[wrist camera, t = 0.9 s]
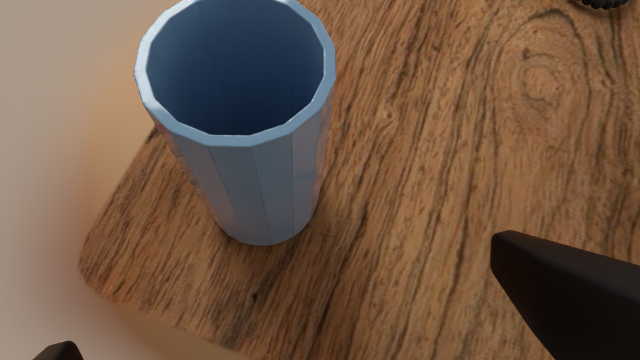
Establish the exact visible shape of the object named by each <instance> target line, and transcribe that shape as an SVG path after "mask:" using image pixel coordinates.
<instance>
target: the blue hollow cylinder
mask: <svg viewBox="0 0 640 360" xmlns="http://www.w3.org/2000/svg"><path fill="white" fill-rule="evenodd" d="M134 77H135V80H136V83H137V86H138V90H139V93H140V96H141V100H142V103H143V105H144V107H145V108H146V110H147V111H148V113H149V115H150V117H151V118H152V120H153V121H154V123H155V125H156V126H157V128H158V130H159V131H160V133H161V135H162V136H163V138H164V139H165V141H166V143H167V144H168V146H169V148H170V149H171V151H172V153H173V154H174V156H175V157H176V159H177V161H178V162H179V164H180V166H181V167H182V169H183V171H184V172H185V174H186V175H187V177H188V179H189V180H190V182H191V184H192V185H193V187H194V188H195V190H196V192H197V193H198V195H199V197H200V198H201V200H202V202H203V203H204V205H205V206H206V208H207V210H208V211H209V213H210V215H211V216H212V218H213V219H214V220H215V222H216V223H217V224H218V225H219V226H220V228H221V229H222V230H223V231H224V232H225V233H226V234H228V235H229V236H230V237H232V238H234V239H236V240H238V241H240V242H242V243H245V244H249V245H255V246H269V245H274V244H278V243H281V242H284V241H286V240H288V239H290V238H292V237H293V236H295V235H296V234H298V233H299V232H300V231H301V230H302V229H303V228H304V227H305V226H306V225H307V224H308V222H309V221H310V219H311V218H312V216H313V214H314V211H315V209H316V205H317V203H318V199H319V192H320V185H321V178H322V171H323V164H324V157H325V150H326V143H327V136H328V129H329V122H330V115H331V108H332V101H333V94H334V87H335V80H336V61H335V46H334V44H333V43H332V41H331V39H330V37H329V35H328V33H327V31H326V29H325V28H324V26H323V24H322V22H321V20H320V19H319V18H318V17H316V16H315V15H314V14H313V13H311V12H310V11H309V10H308V9H306V8H305V7H304V6H303V5H301V4H300V3H299V2H298V1H296V0H182V1H180V2H179V3H178V4H176V5H174V6H172V7H171V8H169V9H168V10H166V11H164V12H163V13H162V14H160V15H159V17H158V18H157V19H156V21H155V22H154V23H153V25H152V26H151V27H150V28H149V30H148V31H147V32H146V34H145V35H144V36H143V38H142V39H141V41H140V44H139V49H138V53H137V58H136V63H135V68H134Z"/></svg>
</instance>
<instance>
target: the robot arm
mask: <svg viewBox="0 0 640 360" xmlns="http://www.w3.org/2000/svg"><path fill="white" fill-rule="evenodd" d="M490 266H491V270H492V272H493V274H494V276H495V278H496V279H497V280H498V282H499V283H500V285H501V286H502V288H503V289H504V291H505V292H506V294H507V295H508V297H509V298H510V300H511V301H512V303H513V304H514V306H515V307H516V309H517V310H518V312H519V313H520V315H521V316H522V318H523V319H524V321H525V322H526V324H527V325H528V326H529V328H530V329H531V330H532V332H533V333H534V334H535V336H536V337H537V338H538V339H539V341H540V342H541V343H542V344H543V345H544V347H545V348H546V349H547V350H548V351H549V353H550V354H551V355H552V356H553V358H554V359H555V360H640V266H639V265H636V264H632V263H628V262H625V261H621V260H618V259H614V258H610V257H607V256H603V255H600V254H596V253H592V252H589V251H585V250H582V249H578V248H574V247H571V246H567V245H564V244H560V243H556V242H553V241H549V240H546V239H542V238H538V237H535V236H531V235H528V234H524V233H520V232H517V231H513V230H507V231H503V232H499V233H495V234H494V235H493V236H492V238H491V256H490ZM33 360H84V359H83V357H82V355H81V353H80V351H79V350H78V348H77V346H76V344H75V343H74V342H72V341H65V342H62V343H57V344H53V345H50V346H48V347H47V348H45V349H44V350H43V351H42V352H41V353H40V354H38V355H37V356H36V357H35V358H34V359H33Z"/></svg>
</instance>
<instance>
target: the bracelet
mask: <svg viewBox="0 0 640 360" xmlns="http://www.w3.org/2000/svg"><path fill="white" fill-rule="evenodd" d="M578 1H580V0H578ZM627 2H628V0H582V3H583V4H584V5H590V4H591V7H592V8H594V9H597V8H603V9H604V10H608V9H610V8H617V7H619V6H620V5H622V4H625V3H627Z"/></svg>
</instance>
